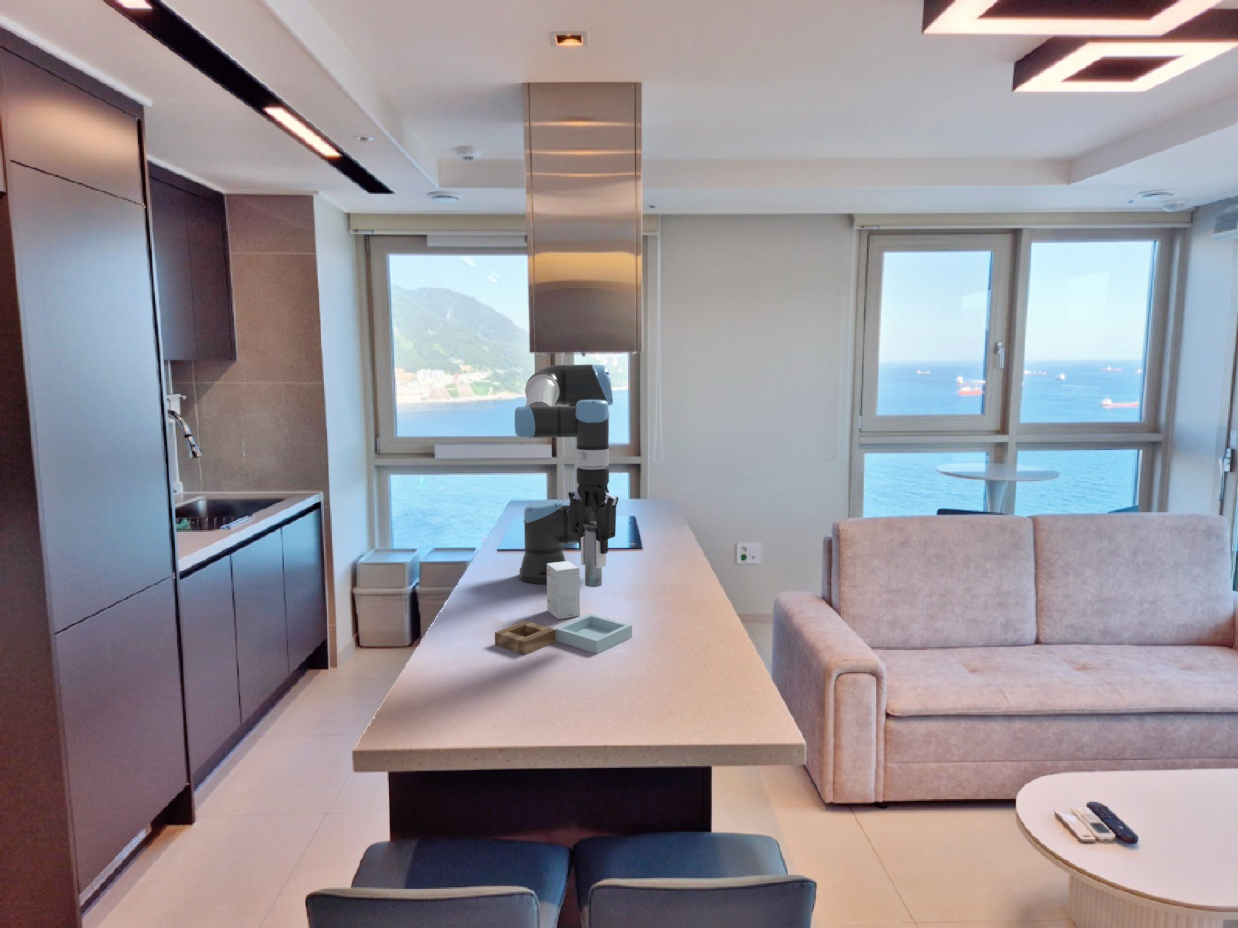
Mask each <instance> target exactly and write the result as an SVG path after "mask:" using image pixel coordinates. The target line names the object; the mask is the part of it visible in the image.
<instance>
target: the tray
mask: <svg viewBox="0 0 1238 928" xmlns="http://www.w3.org/2000/svg"><path fill="white" fill-rule="evenodd" d="M554 629H555V642H557V643H558V642H559V643H561V644H565V645H569V646H571V647H574V648H577V649H581V650H584V651H587V652H590V653H593V654H597V655H598V654H599V653H602V652H604V651H606V650H609V649H610V648H612V647H615V646H616V645H618V644H620V643H623V642H625V641H626V640H629V639H631V638H633V624H630V623H625V622H621V621H619V620H614V619H610V618H607V617H603V616H599V615H596V614H592V613H590V614H587V615H584V616H583V617H580V618H577V619H575V620H572V621H570V622H568V623H566V624H563V625H560V626H558V627H556V628H554Z"/></svg>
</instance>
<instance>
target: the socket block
mask: <svg viewBox="0 0 1238 928" xmlns="http://www.w3.org/2000/svg"><path fill="white" fill-rule="evenodd" d="M553 643H556V641H555V628H552V627H548V626H546V625H545V626H544V625H541V624H538V623H534V622H532V621H531V622H530V621H527V620H523V621H521V622H518V623H516V624H513V625H511V626H507V627H505V628H503V629H500V630H498V631H495V632H494V645H495V646H499V647H501V648H503V649H507V650H509V651H513V652H516V653H519V654H523V655H524V656H525V655H526V656H527V655H528V654H530V653H533V652H535V651H537V650H540V649H543V648H545V647H547V646H549V645H551V644H553Z"/></svg>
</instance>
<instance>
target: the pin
mask: <svg viewBox="0 0 1238 928" xmlns="http://www.w3.org/2000/svg"><path fill="white" fill-rule="evenodd" d="M583 528H585V565H584V586H585V587H588V588H597V587H601V586H602V585H603V567H601V568H596V540H597V539H598V538H599V537H598V530H597V524H596V521H589V522H585V523H583Z"/></svg>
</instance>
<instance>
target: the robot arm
mask: <svg viewBox="0 0 1238 928" xmlns="http://www.w3.org/2000/svg"><path fill="white" fill-rule="evenodd" d="M524 392H525V396H526V402H525V403H526V404H525V405H524V406H517V407H516V408H515V409H514V432H515V436H517V437H518V438H528V439H534V438H536V439H537V438H542V439H543V438H573V455H574V457H573V462H574V467H573V468H574V471H573V473H574V474H573V475H574V480H573V481H574V490H573V491H568V494H567V495H568V498H569V504H567V505H566V504H564V503H563V501H562V500H560V499H547V500H541V501H536V502H532V503H531V504H529V505H527V506H526V507H525V509H524V512H523V513H524V515H523V523H524V555H523V557H522V561H521V567H520V568H519V571H518V572H519V575H518V576H519V579H520V580H521V582H522V581H523V582H526V583H530V584H539V585H541V584H546V585H547V563H555V562H563V561H567V560H566V556H565V555H564V554H565V553H564V544H578V549H579V550H580V565H581V566H585V528H583V523H585V522H589V521H596V524H597V530H598V537H599V538H598V539H597V540H596V568H601V567H602V568H603V567H605V566H607V554H608V552H609V539H612V538H615V537H616V529H617V527H616V526H617V525H616V524H617V523H616V521H617V505H618V502H619V496H617V495H615V496H614V495H612V494H611V493H610V491H609V489H608V488H609V487H608V484H609V482H610V468H609V467H608V466H609V465H610V455H609V454H610V447H609V446H610V444H609V443H610V442H609V439H610V436H609V435H610V434H609V433H610V432H609V431H610V427H609V426H610V423H609V422H610V421H609V420H610V411H609V406H612V405H613V403H614V398H613V389H612V381H611V375H610V371H609V368H608V367H607V366H606V365H601V364H553V365H550V366H546V367H544V368H541V369H540V370H538V371H536V372H534V374H532V375H531V376H530V377H529V379H528V380H527V382H526V384H525V388H524Z"/></svg>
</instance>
